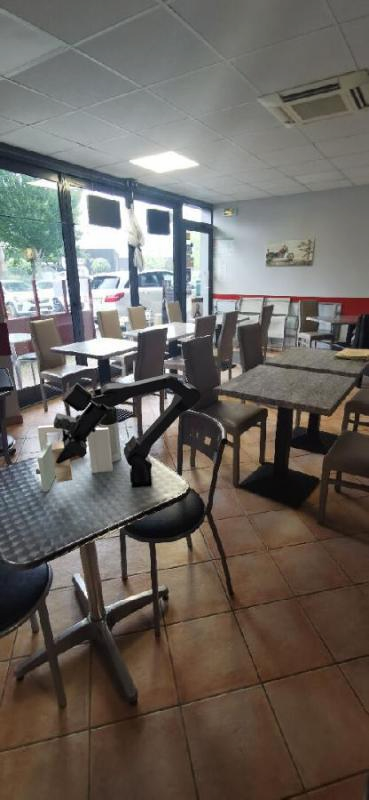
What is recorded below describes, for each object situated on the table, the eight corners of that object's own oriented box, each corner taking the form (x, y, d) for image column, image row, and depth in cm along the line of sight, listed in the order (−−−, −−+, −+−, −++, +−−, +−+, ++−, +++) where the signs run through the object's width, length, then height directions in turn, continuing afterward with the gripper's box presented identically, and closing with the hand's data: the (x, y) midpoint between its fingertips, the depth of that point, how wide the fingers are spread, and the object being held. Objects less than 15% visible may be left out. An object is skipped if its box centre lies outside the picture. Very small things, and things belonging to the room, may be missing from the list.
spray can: (125, 456, 150) (120, 407, 144) (113, 464, 145) (107, 413, 139) (111, 453, 154) (106, 404, 147) (99, 460, 148) (93, 410, 142)
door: (47, 491, 128) (42, 457, 124) (38, 491, 128) (32, 458, 124) (57, 472, 139) (52, 441, 136) (48, 473, 139) (43, 442, 135)
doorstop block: (71, 472, 126) (66, 440, 122) (72, 479, 121) (67, 447, 118) (56, 475, 125) (51, 443, 121) (57, 482, 120) (51, 449, 116)
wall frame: (112, 468, 142) (107, 421, 136) (112, 471, 140) (106, 424, 134) (47, 472, 141) (39, 425, 135) (45, 476, 139) (37, 428, 133)
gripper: (66, 395, 125) (34, 433, 125) (69, 414, 108) (32, 458, 108) (94, 415, 130) (64, 451, 130) (101, 436, 113) (66, 478, 113)
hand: (56, 459), depth 120 cm, fingers closed on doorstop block, 5 cm apart
